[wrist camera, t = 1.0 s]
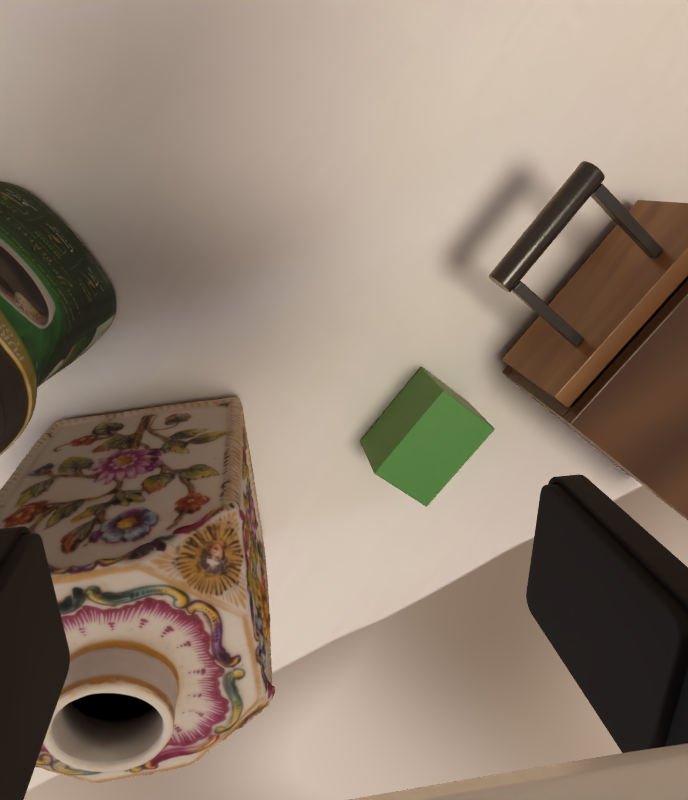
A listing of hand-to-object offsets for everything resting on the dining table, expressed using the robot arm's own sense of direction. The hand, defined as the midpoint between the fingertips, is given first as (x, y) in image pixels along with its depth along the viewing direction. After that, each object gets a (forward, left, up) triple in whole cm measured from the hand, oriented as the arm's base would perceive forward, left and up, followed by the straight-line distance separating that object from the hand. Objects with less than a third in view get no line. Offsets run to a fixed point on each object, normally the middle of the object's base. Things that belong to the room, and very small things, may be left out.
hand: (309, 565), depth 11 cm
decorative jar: (+14, +2, -25) cm, 29 cm away
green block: (+1, +13, -25) cm, 28 cm away
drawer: (-12, +18, -24) cm, 32 cm away
